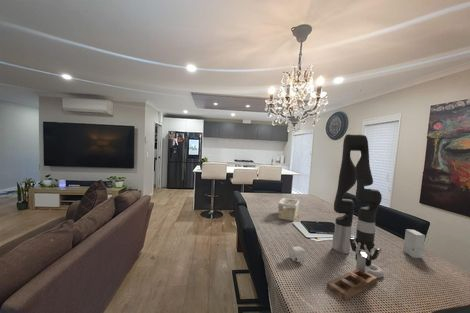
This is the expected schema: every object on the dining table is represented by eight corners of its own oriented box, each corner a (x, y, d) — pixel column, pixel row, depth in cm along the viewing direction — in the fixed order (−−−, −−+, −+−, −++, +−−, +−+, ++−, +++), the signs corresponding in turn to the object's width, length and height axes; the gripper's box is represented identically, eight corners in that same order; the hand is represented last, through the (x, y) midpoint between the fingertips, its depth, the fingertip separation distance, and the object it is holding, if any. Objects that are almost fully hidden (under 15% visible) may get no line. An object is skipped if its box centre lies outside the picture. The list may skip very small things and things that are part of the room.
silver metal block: (355, 269, 102) (356, 253, 102) (360, 267, 104) (361, 251, 104) (364, 273, 98) (365, 257, 98) (369, 271, 101) (370, 255, 100)
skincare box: (402, 251, 134) (404, 228, 133) (411, 251, 134) (413, 229, 133) (413, 258, 126) (415, 234, 125) (423, 258, 126) (425, 234, 125)
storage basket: (282, 211, 206) (283, 197, 205) (299, 214, 199) (299, 199, 199) (276, 219, 184) (277, 202, 183) (295, 222, 178) (296, 205, 177)
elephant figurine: (295, 267, 111) (296, 251, 111) (284, 255, 123) (285, 241, 122) (310, 265, 114) (311, 249, 113) (298, 253, 125) (299, 239, 125)
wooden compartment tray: (326, 288, 95) (327, 282, 95) (358, 273, 108) (358, 267, 108) (345, 302, 87) (346, 294, 87) (376, 283, 100) (377, 276, 100)
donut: (356, 270, 111) (375, 281, 102) (357, 264, 111) (376, 274, 102) (368, 266, 115) (388, 276, 106) (369, 260, 115) (388, 270, 106)
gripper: (346, 225, 104) (344, 258, 105) (377, 236, 92) (374, 273, 93) (355, 223, 108) (352, 254, 109) (386, 233, 96) (383, 269, 97)
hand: (363, 263), depth 101 cm, fingers closed on silver metal block, 4 cm apart
